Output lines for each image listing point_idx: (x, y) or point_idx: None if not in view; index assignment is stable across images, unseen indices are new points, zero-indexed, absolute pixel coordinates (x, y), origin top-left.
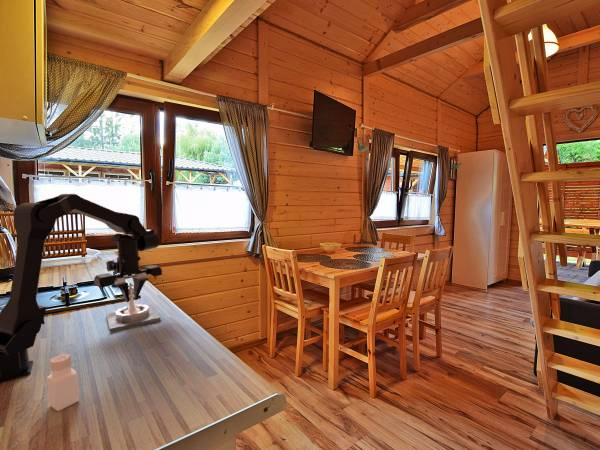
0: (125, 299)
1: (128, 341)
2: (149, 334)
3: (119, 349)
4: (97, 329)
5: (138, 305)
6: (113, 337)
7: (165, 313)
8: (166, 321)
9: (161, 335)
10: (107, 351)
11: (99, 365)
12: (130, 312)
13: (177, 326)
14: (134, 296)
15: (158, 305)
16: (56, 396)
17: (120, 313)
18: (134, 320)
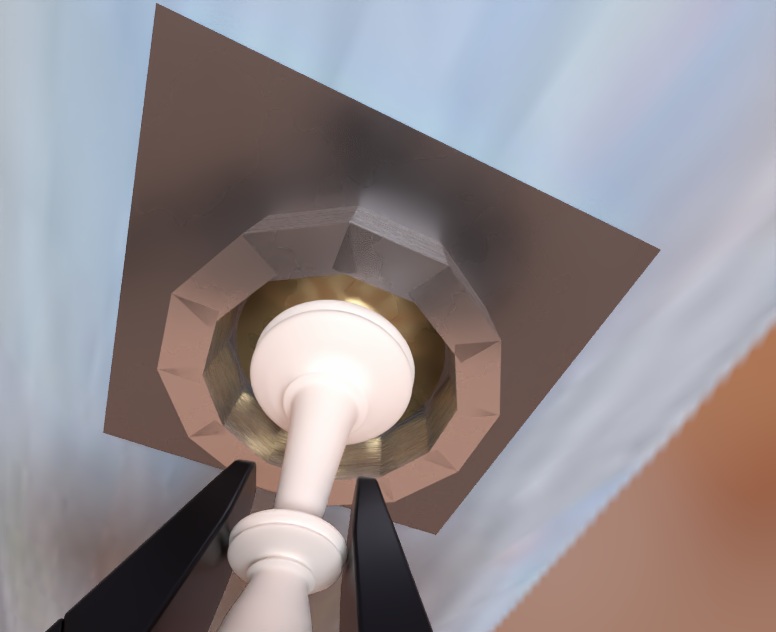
0: (206, 499)
1: None
2: None
3: None
4: (51, 279)
5: (453, 333)
6: (126, 478)
7: (556, 444)
8: (447, 535)
9: (317, 613)
10: (70, 564)
11: (28, 614)
12: (286, 427)
13: (427, 606)
14: (321, 583)
15: (730, 229)
16: None
17: (198, 384)
18: None
